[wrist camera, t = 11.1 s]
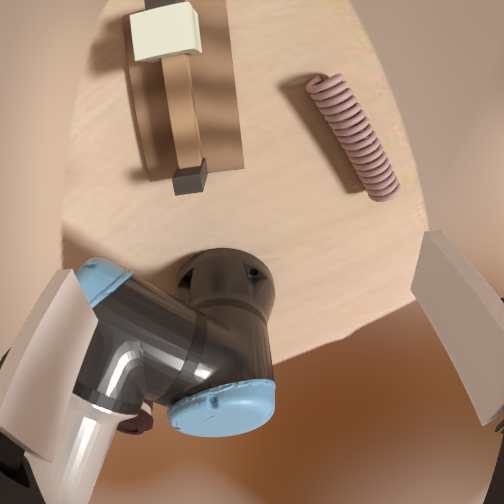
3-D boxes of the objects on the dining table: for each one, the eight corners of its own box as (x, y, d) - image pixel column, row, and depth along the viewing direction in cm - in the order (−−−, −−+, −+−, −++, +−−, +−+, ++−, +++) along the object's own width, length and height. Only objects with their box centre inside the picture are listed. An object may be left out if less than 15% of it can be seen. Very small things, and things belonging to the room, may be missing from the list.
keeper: (202, 53, 28) (194, 48, 23) (153, 62, 28) (135, 60, 23) (197, 14, 26) (188, 1, 20) (149, 24, 26) (129, 15, 20)
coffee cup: (137, 382, 63) (126, 439, 50) (107, 358, 58) (91, 418, 45) (170, 374, 61) (162, 436, 48) (140, 348, 56) (125, 414, 43)
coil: (305, 88, 28) (377, 212, 37) (342, 68, 27) (407, 195, 35) (300, 84, 32) (367, 195, 41) (333, 66, 31) (395, 180, 39)
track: (244, 166, 37) (245, 186, 31) (151, 179, 37) (136, 201, 32) (225, -4, 25) (222, -21, 19) (124, 17, 25) (101, 8, 20)
